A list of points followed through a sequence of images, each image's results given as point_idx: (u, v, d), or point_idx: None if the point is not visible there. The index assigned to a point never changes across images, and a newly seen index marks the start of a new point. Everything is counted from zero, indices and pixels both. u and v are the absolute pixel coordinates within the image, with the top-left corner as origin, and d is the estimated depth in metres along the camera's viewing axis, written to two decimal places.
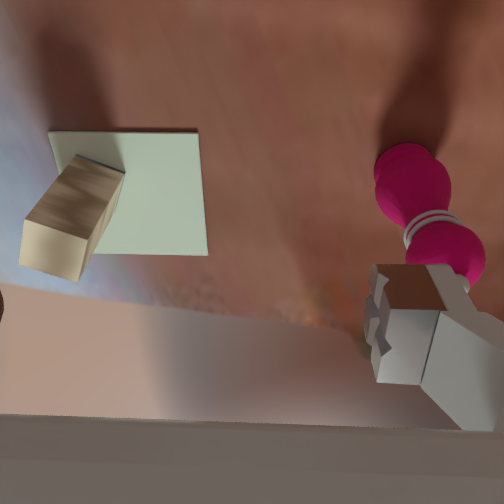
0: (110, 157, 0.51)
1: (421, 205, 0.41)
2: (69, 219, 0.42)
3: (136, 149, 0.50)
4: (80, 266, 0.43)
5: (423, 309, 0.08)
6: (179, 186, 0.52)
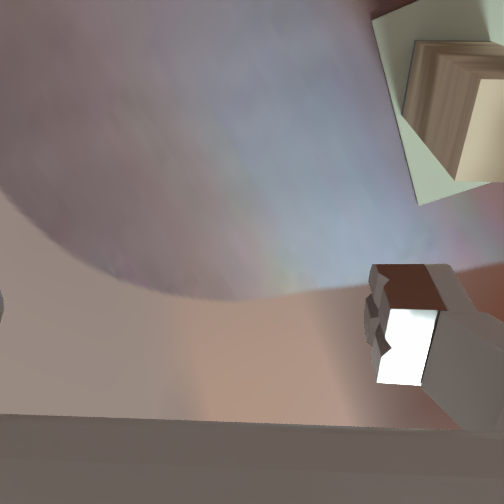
0: (467, 24, 0.34)
1: None
2: None
3: None
4: None
5: (423, 309, 0.08)
6: None
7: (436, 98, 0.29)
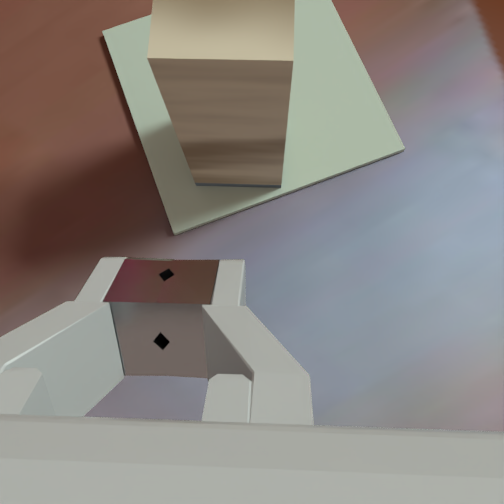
0: None
1: None
2: None
3: (156, 102, 0.32)
4: None
5: (187, 303, 0.08)
6: None
7: (222, 132, 0.23)
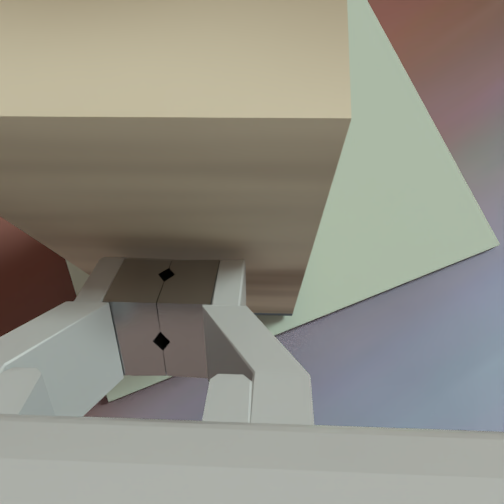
0: None
1: None
2: None
3: None
4: None
5: (187, 303, 0.08)
6: None
7: None
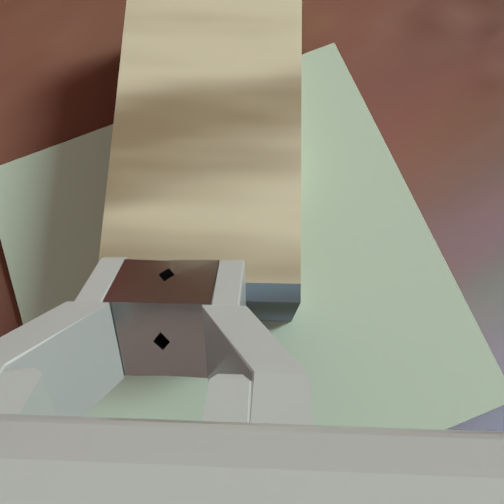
0: None
1: None
2: None
3: None
4: None
5: (187, 303, 0.08)
6: None
7: (197, 61, 0.14)
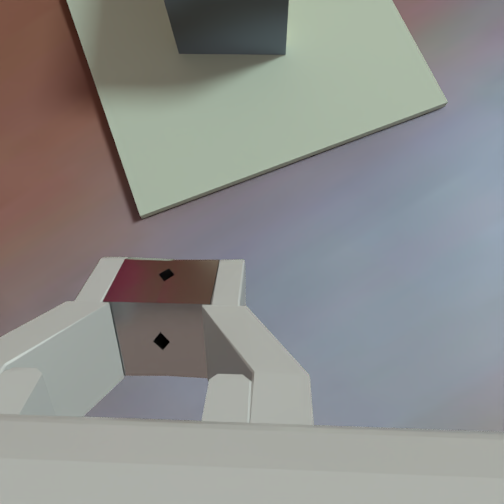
0: (154, 88, 0.24)
1: None
2: None
3: (120, 46, 0.24)
4: None
5: (187, 303, 0.08)
6: None
7: None
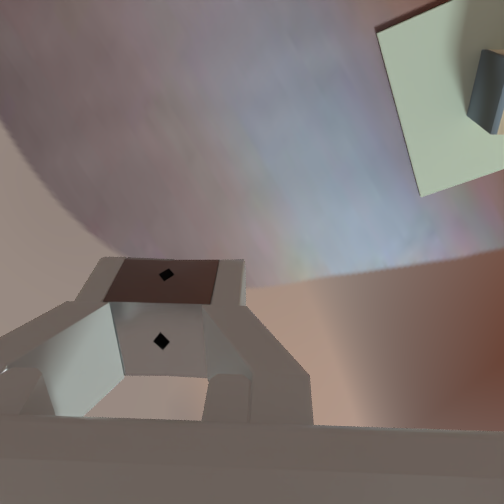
0: (460, 35, 0.38)
1: None
2: None
3: (496, 7, 0.37)
4: None
5: (187, 303, 0.08)
6: None
7: None
